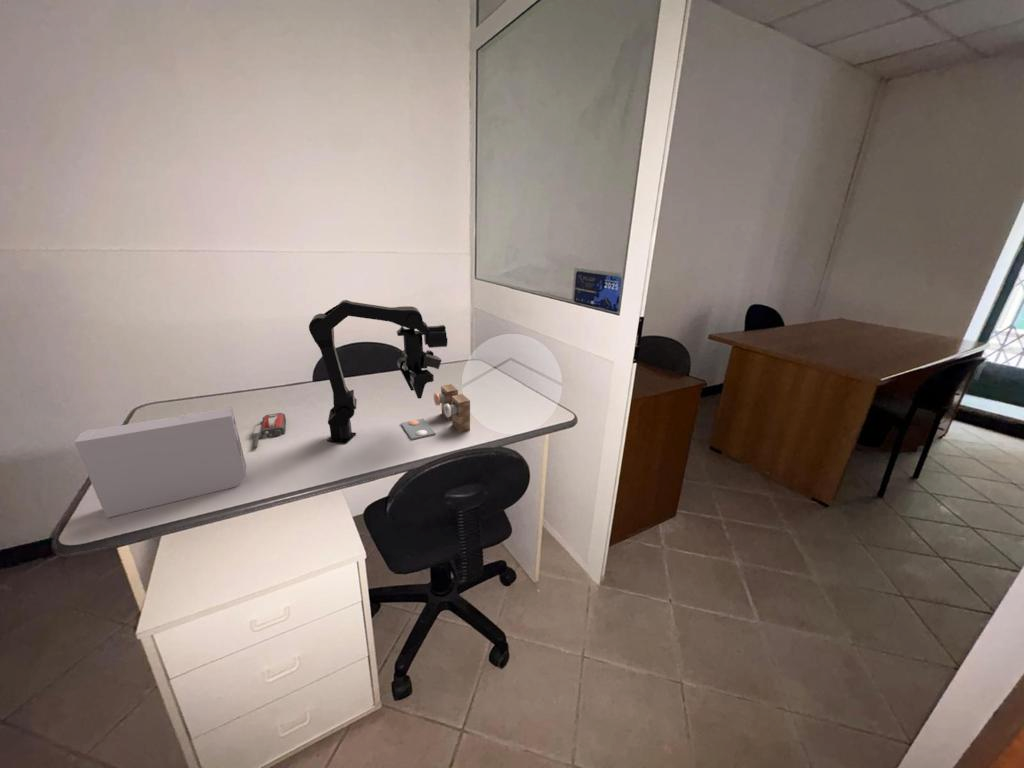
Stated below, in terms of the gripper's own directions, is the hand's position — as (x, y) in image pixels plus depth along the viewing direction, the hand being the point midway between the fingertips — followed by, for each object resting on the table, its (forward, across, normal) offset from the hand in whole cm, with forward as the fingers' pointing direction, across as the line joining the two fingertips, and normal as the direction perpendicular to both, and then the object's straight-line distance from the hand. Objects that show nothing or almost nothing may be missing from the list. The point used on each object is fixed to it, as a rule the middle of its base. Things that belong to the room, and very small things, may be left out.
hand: (416, 394), depth 129 cm
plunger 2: (+8, -5, -12) cm, 15 cm away
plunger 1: (+8, +5, -12) cm, 15 cm away
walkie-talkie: (+14, +18, +43) cm, 48 cm away
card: (+13, 0, 0) cm, 13 cm away
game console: (+13, -6, +62) cm, 64 cm away
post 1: (+13, +5, -14) cm, 19 cm away
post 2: (+13, -5, -14) cm, 19 cm away
